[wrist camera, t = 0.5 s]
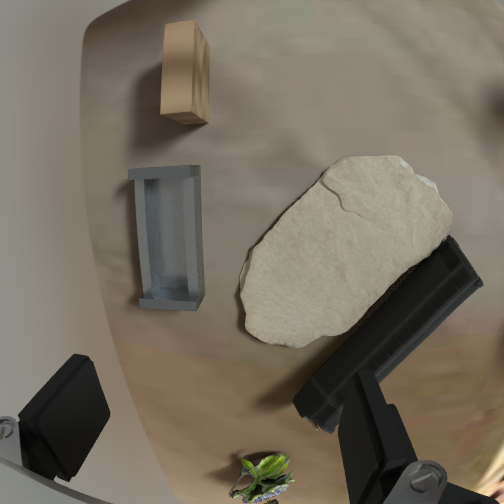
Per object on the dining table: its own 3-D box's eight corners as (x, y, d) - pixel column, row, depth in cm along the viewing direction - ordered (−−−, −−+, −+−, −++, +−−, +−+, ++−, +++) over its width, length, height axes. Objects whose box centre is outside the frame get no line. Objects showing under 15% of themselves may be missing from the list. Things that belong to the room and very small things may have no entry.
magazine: (494, 232, 26) (325, 468, 24) (505, 251, 26) (345, 477, 25) (410, 233, 43) (287, 395, 41) (423, 247, 43) (303, 405, 42)
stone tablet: (454, 221, 35) (464, 224, 32) (290, 362, 42) (291, 372, 39) (381, 119, 33) (388, 116, 30) (204, 280, 39) (200, 287, 37)
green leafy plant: (271, 453, 54) (251, 502, 46) (231, 437, 50) (207, 490, 43) (312, 460, 46) (291, 517, 38) (271, 445, 42) (245, 509, 35)
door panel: (185, 49, 31) (164, 24, 24) (210, 46, 31) (194, 19, 23) (183, 124, 34) (160, 114, 26) (209, 123, 34) (191, 111, 26)
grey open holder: (144, 168, 35) (128, 169, 31) (200, 165, 35) (189, 165, 30) (153, 292, 40) (140, 307, 35) (205, 295, 39) (196, 311, 35)
